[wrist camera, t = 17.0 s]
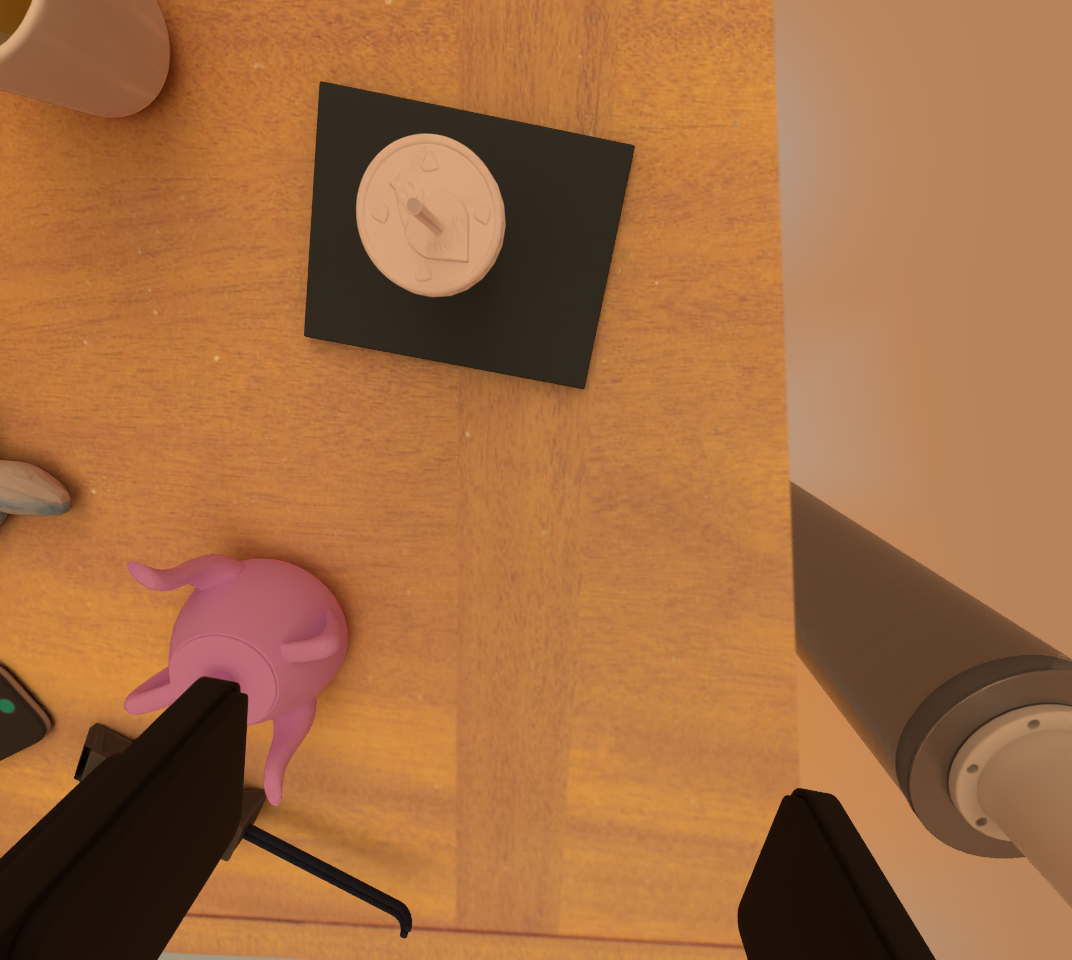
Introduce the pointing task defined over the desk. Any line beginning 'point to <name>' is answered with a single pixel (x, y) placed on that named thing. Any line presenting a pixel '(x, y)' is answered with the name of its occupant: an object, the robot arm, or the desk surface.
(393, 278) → the smoothie
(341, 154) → the mat
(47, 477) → the sculpture
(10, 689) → the smartphone
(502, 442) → the desk surface
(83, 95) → the mug
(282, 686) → the teapot
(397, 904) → the hook tool
